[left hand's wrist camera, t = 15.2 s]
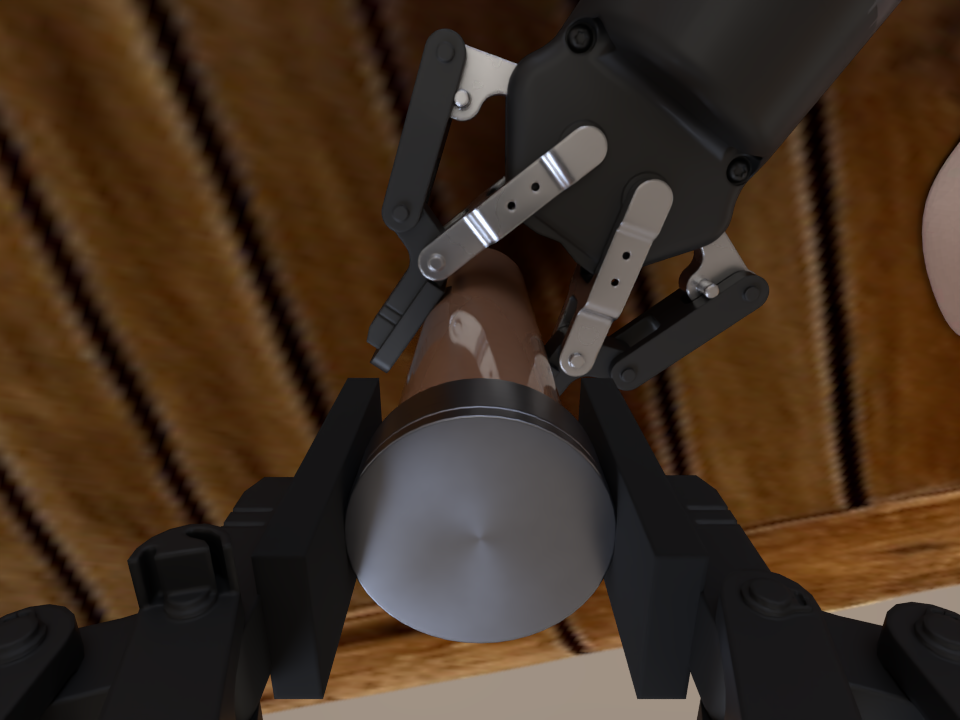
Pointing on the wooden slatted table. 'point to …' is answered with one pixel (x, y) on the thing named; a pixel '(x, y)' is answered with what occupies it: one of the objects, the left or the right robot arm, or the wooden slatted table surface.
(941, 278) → the anatomical model
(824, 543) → the wooden slatted table surface
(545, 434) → the lid
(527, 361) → the pinkish brown cylinder
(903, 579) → the wooden slatted table surface
